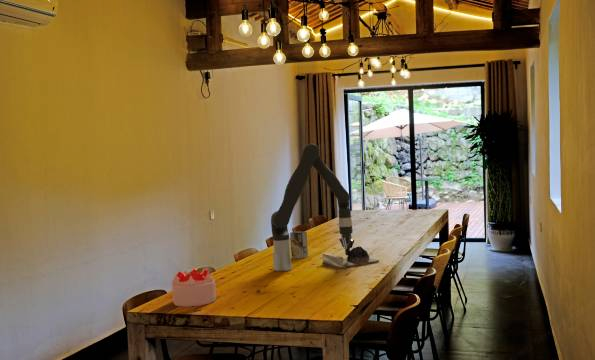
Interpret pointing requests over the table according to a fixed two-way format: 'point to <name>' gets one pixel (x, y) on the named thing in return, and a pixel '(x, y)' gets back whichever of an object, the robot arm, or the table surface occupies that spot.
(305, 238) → the coffee box
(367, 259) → the black rock
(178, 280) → the cake
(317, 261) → the table surface
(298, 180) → the robot arm
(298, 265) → the table surface
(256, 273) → the table surface
